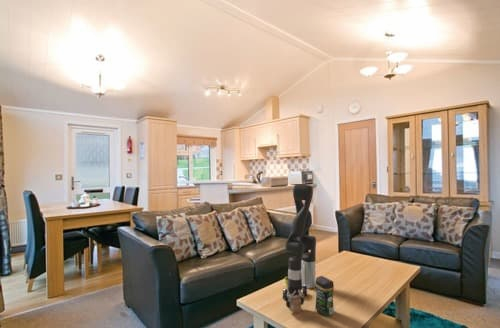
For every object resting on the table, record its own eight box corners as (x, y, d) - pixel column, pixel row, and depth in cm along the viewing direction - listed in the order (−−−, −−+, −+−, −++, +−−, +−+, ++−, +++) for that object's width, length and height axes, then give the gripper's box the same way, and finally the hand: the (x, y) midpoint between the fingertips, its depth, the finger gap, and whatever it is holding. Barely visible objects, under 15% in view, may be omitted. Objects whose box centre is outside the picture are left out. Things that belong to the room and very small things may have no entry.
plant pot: (292, 297, 165) (292, 283, 165) (281, 291, 172) (281, 278, 172) (302, 293, 170) (302, 279, 170) (292, 287, 178) (292, 274, 178)
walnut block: (288, 308, 153) (288, 296, 152) (296, 306, 154) (296, 294, 154) (293, 313, 148) (293, 300, 148) (301, 311, 150) (301, 298, 150)
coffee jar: (312, 309, 151) (312, 276, 151) (323, 305, 155) (323, 273, 155) (325, 318, 143) (325, 283, 143) (336, 314, 147) (336, 280, 147)
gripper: (302, 272, 157) (302, 300, 157) (280, 276, 152) (280, 305, 152) (309, 277, 150) (309, 306, 150) (287, 281, 145) (287, 311, 145)
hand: (294, 305), depth 151 cm, fingers open, 8 cm apart
